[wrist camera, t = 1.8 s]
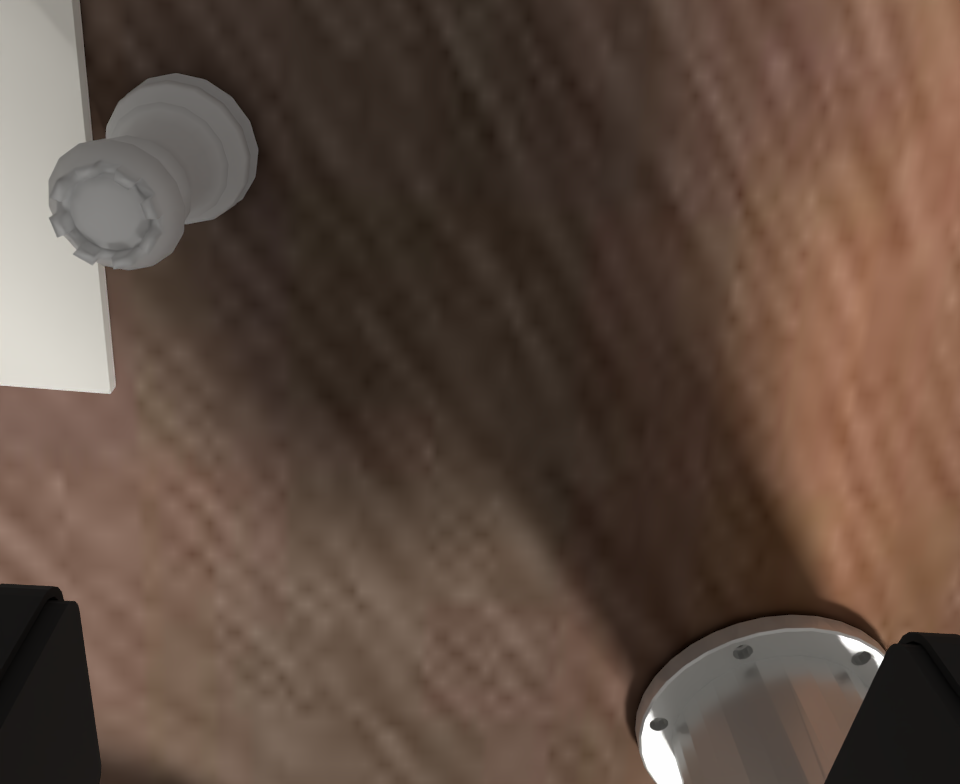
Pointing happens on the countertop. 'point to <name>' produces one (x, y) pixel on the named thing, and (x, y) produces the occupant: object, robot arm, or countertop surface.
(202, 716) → the countertop surface
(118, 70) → the countertop surface
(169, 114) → the rook chess piece
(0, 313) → the mat
